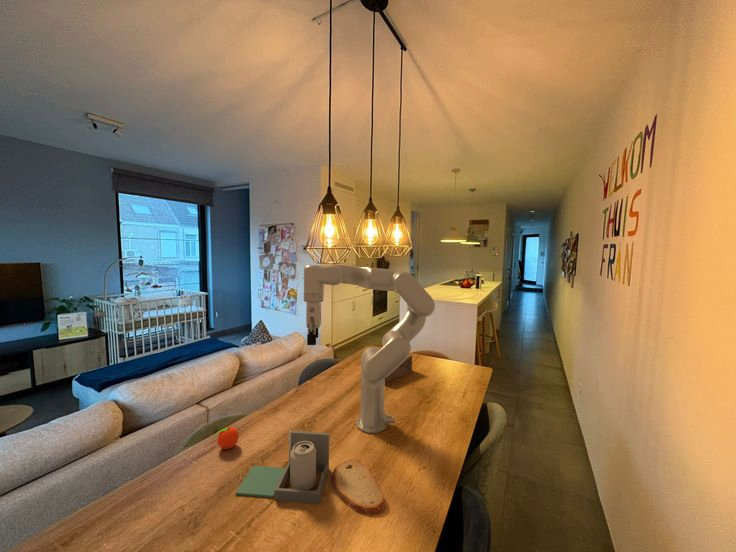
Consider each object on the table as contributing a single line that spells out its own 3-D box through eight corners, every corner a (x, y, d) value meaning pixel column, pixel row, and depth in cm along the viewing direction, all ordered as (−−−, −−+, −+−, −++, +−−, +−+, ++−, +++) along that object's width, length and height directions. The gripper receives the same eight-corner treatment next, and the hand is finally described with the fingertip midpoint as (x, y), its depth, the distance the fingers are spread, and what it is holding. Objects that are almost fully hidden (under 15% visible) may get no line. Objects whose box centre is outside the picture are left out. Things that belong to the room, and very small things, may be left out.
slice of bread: (384, 519, 80) (385, 505, 79) (319, 507, 83) (319, 494, 83) (392, 471, 97) (392, 460, 97) (338, 462, 101) (338, 452, 100)
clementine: (213, 456, 102) (212, 436, 101) (214, 444, 108) (214, 425, 107) (239, 450, 105) (238, 431, 104) (238, 439, 111) (238, 420, 111)
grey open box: (328, 468, 97) (329, 430, 96) (319, 503, 84) (319, 459, 83) (290, 465, 98) (290, 427, 97) (274, 500, 84) (274, 455, 83)
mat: (286, 469, 96) (286, 468, 96) (273, 497, 85) (273, 495, 85) (253, 467, 97) (253, 465, 97) (235, 494, 86) (235, 492, 86)
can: (320, 479, 93) (320, 441, 92) (307, 497, 86) (308, 457, 85) (299, 473, 95) (299, 436, 94) (285, 490, 88) (285, 451, 87)
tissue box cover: (393, 365, 188) (394, 349, 187) (411, 372, 177) (412, 356, 177) (362, 376, 171) (362, 359, 170) (380, 384, 160) (380, 366, 159)
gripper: (321, 301, 108) (320, 348, 109) (325, 294, 125) (324, 335, 126) (300, 300, 107) (299, 348, 108) (306, 294, 124) (306, 334, 126)
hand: (312, 341), depth 117 cm, fingers open, 9 cm apart
